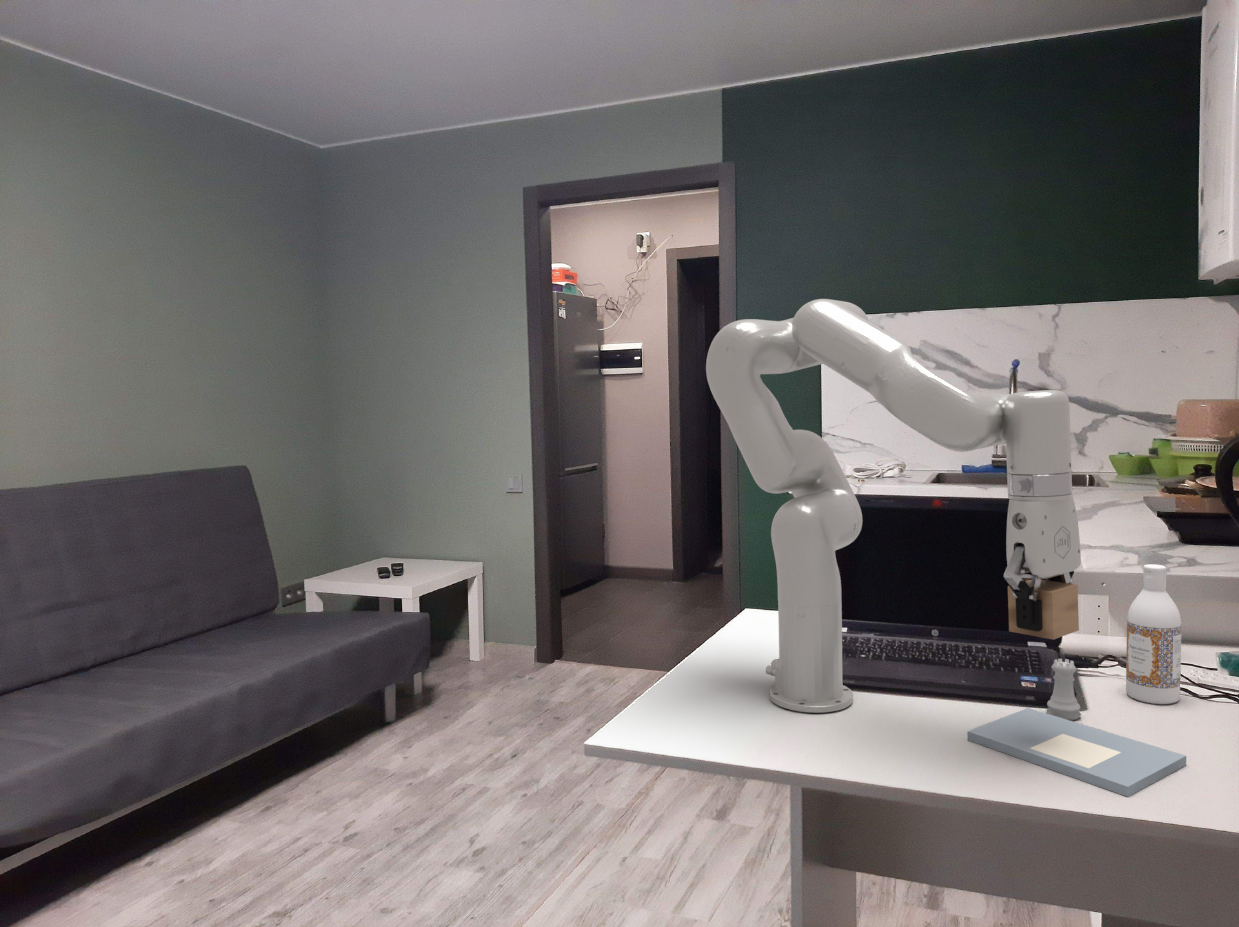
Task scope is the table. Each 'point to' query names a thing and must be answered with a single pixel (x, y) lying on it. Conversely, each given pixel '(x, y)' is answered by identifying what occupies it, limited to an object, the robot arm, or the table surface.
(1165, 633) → the bath foam
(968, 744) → the table surface
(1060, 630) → the walnut cube
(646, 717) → the table surface
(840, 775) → the table surface
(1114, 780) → the build board
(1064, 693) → the rook chess piece
